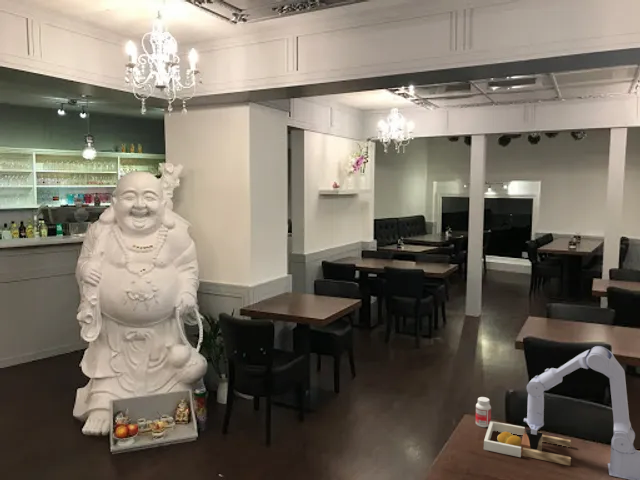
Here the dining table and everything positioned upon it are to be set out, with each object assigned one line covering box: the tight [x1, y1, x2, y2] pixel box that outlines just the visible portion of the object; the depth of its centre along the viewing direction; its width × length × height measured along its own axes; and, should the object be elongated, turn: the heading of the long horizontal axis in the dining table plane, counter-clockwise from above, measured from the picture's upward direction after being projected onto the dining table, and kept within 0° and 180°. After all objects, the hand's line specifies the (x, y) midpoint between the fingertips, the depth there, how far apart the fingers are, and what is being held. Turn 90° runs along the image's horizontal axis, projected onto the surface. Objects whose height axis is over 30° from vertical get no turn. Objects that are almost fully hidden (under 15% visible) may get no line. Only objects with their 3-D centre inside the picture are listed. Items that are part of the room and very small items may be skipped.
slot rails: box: [522, 434, 572, 466], centre depth 190 cm, size 16×15×2 cm
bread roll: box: [496, 432, 522, 447], centre depth 196 cm, size 8×9×4 cm
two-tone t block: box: [521, 431, 544, 453], centre depth 192 cm, size 7×9×6 cm
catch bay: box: [483, 420, 526, 458], centre depth 197 cm, size 13×18×4 cm
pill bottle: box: [475, 396, 492, 428], centre depth 211 cm, size 6×6×11 cm
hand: (534, 444), depth 192 cm, fingers open, 7 cm apart
